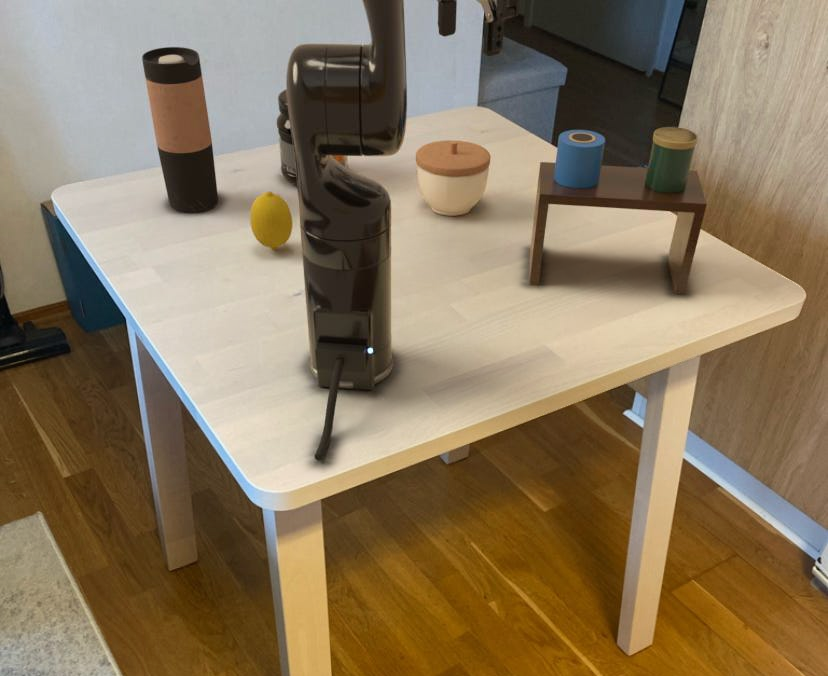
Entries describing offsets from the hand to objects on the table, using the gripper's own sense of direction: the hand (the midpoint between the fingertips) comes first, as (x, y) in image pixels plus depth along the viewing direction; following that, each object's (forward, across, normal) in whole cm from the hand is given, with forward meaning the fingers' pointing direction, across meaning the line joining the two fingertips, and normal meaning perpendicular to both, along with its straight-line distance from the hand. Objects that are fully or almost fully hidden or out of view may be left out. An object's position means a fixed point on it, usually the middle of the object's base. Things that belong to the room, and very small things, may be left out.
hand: (469, 44), depth 109 cm
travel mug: (+24, -30, -26) cm, 47 cm away
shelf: (+24, +20, +8) cm, 33 cm away
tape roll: (+12, +16, +5) cm, 21 cm away
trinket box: (+25, -7, +4) cm, 26 cm away
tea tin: (+12, +24, +13) cm, 30 cm away
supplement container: (+25, -28, -6) cm, 38 cm away
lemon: (+24, -11, -24) cm, 36 cm away
